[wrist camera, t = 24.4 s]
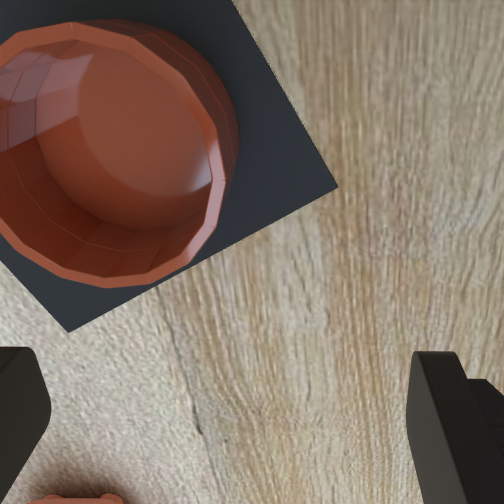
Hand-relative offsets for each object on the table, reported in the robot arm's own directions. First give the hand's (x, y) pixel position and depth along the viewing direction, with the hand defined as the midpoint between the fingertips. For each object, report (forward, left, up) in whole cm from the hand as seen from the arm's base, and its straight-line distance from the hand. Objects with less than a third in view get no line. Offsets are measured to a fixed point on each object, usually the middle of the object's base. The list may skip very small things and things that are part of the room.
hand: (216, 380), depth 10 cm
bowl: (+5, -4, -17) cm, 18 cm away
